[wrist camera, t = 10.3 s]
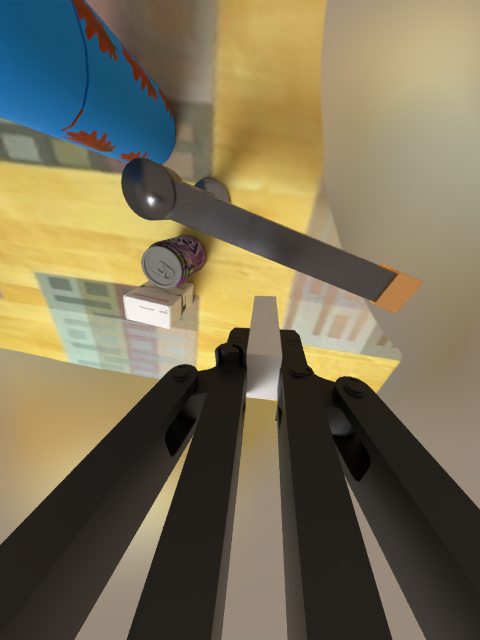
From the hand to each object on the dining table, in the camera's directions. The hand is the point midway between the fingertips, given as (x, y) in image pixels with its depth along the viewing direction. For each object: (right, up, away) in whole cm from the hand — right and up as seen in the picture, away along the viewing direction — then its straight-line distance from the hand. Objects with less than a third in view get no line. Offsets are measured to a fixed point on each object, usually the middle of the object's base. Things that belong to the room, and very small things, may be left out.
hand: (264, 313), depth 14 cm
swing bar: (+2, +8, +6) cm, 10 cm away
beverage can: (-12, +13, +25) cm, 30 cm away
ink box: (-16, +6, +29) cm, 34 cm away
